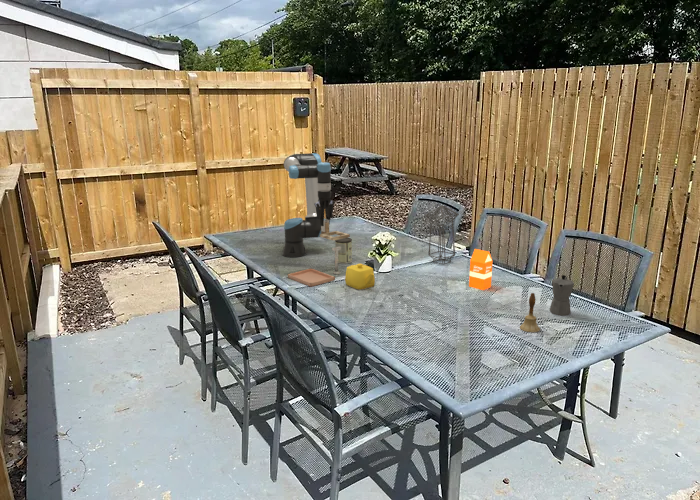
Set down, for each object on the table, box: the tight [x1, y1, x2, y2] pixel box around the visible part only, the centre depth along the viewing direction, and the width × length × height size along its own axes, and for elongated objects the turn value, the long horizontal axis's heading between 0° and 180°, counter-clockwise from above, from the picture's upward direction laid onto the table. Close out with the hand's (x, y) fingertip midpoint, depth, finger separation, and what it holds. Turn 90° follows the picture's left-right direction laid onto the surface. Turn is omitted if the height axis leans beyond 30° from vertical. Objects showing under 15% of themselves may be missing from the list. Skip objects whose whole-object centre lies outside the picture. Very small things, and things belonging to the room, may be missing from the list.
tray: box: [287, 267, 336, 288], centre depth 296 cm, size 22×17×2 cm
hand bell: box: [519, 292, 541, 333], centre depth 227 cm, size 8×8×16 cm
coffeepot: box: [549, 274, 575, 317], centre depth 245 cm, size 15×9×18 cm, turn 151°
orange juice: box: [468, 248, 493, 291], centre depth 279 cm, size 8×9×20 cm
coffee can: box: [334, 237, 353, 264], centre depth 328 cm, size 10×10×14 cm
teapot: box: [344, 263, 376, 291], centre depth 284 cm, size 20×12×12 cm, turn 37°
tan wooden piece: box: [319, 222, 351, 242], centre depth 302 cm, size 17×12×7 cm
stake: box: [331, 246, 341, 275], centre depth 304 cm, size 4×6×15 cm
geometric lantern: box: [425, 205, 460, 265], centre depth 323 cm, size 16×16×35 cm
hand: (325, 230), depth 306 cm, fingers closed on tan wooden piece, 2 cm apart
